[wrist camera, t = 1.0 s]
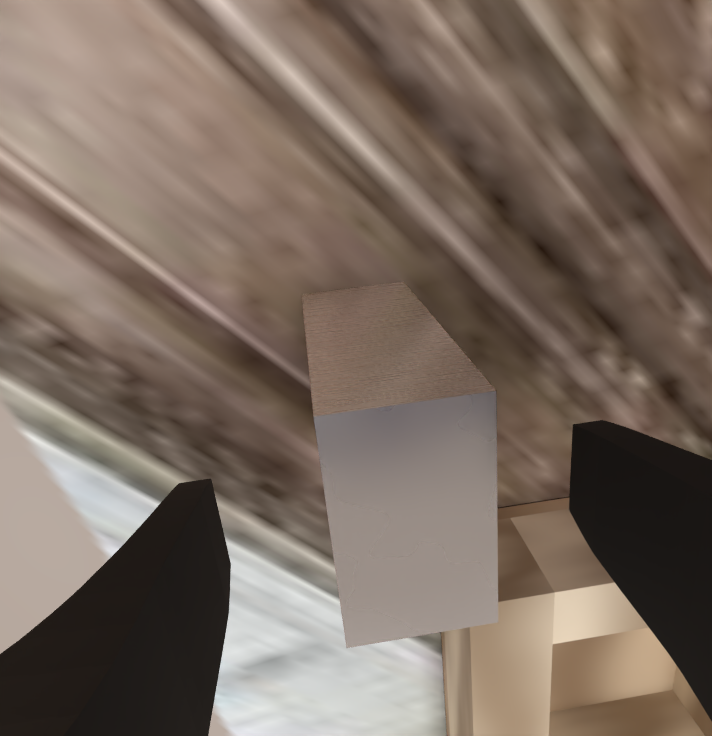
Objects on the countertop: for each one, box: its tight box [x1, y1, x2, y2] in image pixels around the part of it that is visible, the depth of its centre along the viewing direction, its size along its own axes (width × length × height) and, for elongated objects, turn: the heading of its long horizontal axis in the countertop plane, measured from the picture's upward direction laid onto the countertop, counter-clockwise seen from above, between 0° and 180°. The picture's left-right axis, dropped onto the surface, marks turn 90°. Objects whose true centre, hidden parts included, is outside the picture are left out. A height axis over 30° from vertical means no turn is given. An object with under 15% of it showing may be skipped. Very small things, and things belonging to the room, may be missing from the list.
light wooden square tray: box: [441, 498, 712, 736], centre depth 21 cm, size 12×12×4 cm
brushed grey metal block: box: [302, 282, 498, 648], centre depth 14 cm, size 3×5×8 cm, turn 6°
